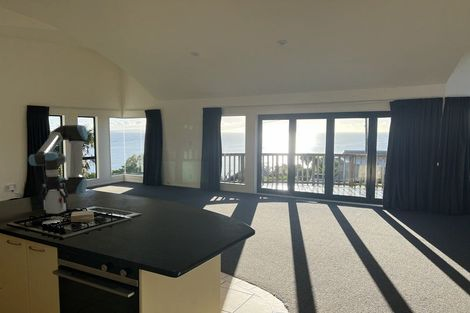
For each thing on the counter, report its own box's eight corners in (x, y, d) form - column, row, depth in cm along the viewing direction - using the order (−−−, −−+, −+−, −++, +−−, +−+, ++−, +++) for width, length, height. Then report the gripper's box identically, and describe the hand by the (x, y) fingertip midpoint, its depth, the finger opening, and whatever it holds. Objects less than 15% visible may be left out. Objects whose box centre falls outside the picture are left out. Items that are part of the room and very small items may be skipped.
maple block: (72, 219, 228) (72, 212, 228) (93, 217, 233) (93, 210, 233) (71, 223, 216) (70, 216, 216) (93, 221, 221) (92, 214, 221)
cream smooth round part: (44, 222, 219) (44, 220, 219) (61, 221, 222) (61, 219, 222) (41, 226, 210) (40, 224, 210) (58, 224, 213) (58, 222, 213)
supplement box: (58, 213, 223) (57, 191, 222) (45, 213, 224) (44, 191, 223) (66, 210, 232) (65, 188, 231) (54, 210, 233) (53, 188, 232)
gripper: (31, 177, 216) (33, 211, 218) (70, 175, 224) (72, 208, 226) (34, 175, 224) (36, 208, 226) (72, 174, 231) (73, 205, 233)
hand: (54, 208), depth 226 cm, fingers closed on supplement box, 10 cm apart
